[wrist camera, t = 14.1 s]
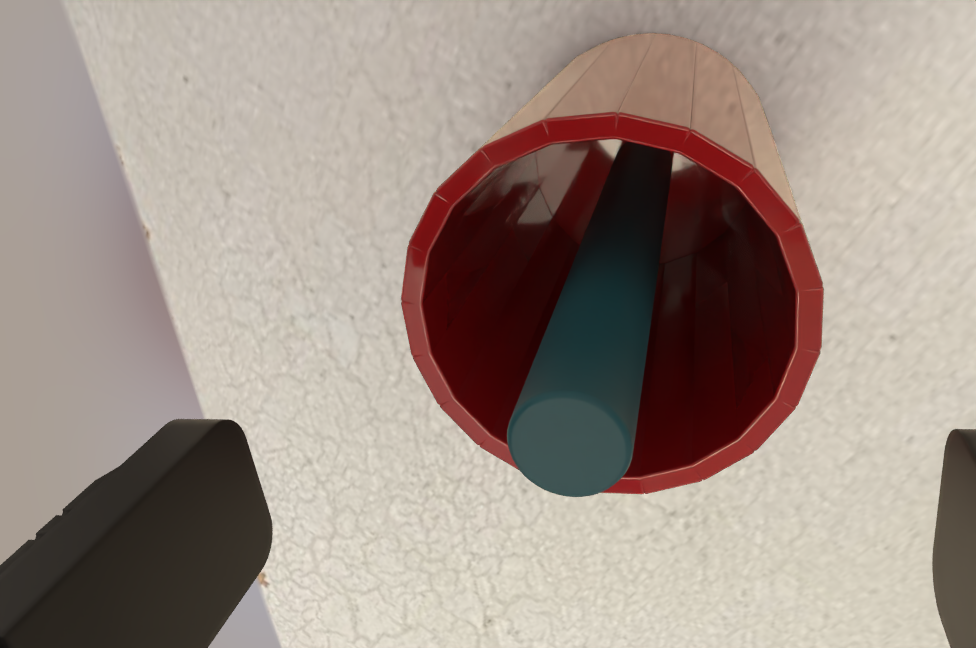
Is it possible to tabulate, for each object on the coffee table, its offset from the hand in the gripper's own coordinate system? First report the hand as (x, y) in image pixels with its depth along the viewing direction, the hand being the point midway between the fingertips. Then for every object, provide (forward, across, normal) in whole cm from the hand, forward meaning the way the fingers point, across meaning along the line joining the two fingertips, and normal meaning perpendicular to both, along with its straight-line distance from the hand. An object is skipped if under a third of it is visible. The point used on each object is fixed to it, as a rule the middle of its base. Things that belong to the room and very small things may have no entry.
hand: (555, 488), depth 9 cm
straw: (+15, 0, 0) cm, 15 cm away
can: (+15, 0, 0) cm, 15 cm away
